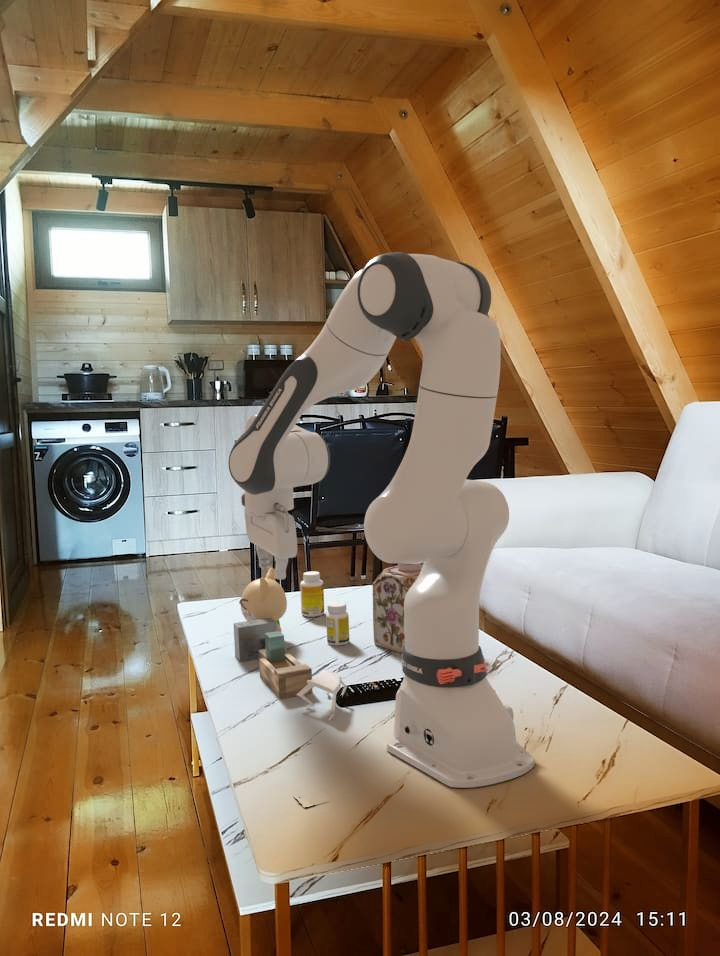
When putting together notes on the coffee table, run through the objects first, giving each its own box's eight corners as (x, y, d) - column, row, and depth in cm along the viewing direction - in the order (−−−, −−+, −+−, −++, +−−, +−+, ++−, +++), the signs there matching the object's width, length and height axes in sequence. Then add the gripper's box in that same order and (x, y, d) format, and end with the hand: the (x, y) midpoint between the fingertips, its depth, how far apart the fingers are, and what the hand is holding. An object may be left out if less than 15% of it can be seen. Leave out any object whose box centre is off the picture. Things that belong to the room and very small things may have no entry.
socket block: (277, 655, 159) (276, 621, 158) (239, 661, 156) (238, 627, 155) (272, 650, 162) (271, 617, 161) (235, 656, 159) (233, 623, 158)
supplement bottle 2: (350, 639, 168) (349, 601, 167) (348, 646, 163) (346, 607, 163) (328, 639, 169) (327, 601, 168) (325, 646, 164) (324, 607, 163)
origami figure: (290, 702, 134) (289, 675, 134) (335, 693, 138) (334, 666, 137) (317, 728, 124) (316, 698, 123) (364, 717, 127) (363, 688, 127)
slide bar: (301, 684, 139) (299, 647, 138) (285, 687, 138) (283, 650, 137) (273, 658, 153) (271, 624, 153) (258, 661, 152) (257, 627, 152)
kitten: (251, 629, 178) (248, 564, 176) (294, 629, 177) (291, 564, 175) (234, 650, 163) (231, 580, 161) (281, 650, 162) (278, 580, 160)
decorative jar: (372, 645, 164) (369, 561, 162) (411, 632, 171) (409, 552, 170) (412, 658, 155) (410, 569, 153) (452, 644, 163) (450, 559, 161)
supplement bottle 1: (326, 616, 186) (324, 574, 185) (303, 618, 185) (301, 576, 184) (322, 610, 191) (320, 569, 190) (299, 612, 190) (298, 571, 189)
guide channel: (312, 692, 138) (311, 668, 138) (280, 699, 136) (279, 674, 135) (290, 671, 149) (289, 649, 149) (260, 677, 147) (259, 654, 146)
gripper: (304, 505, 136) (307, 583, 137) (269, 492, 154) (272, 561, 156) (270, 508, 133) (273, 587, 135) (238, 495, 152) (241, 564, 153)
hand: (272, 573), depth 146 cm, fingers open, 8 cm apart
